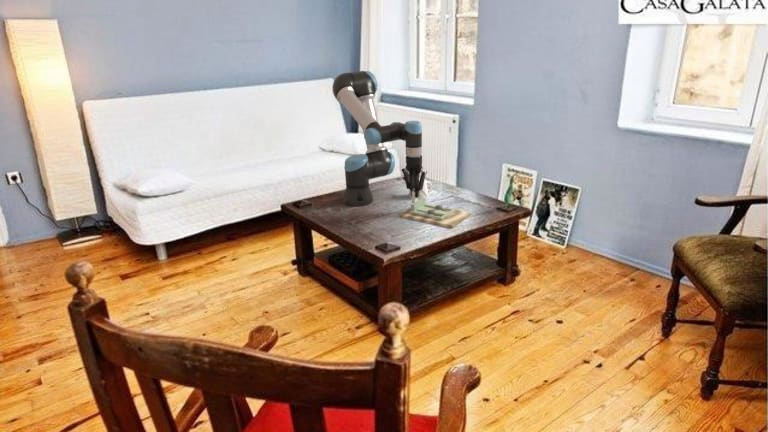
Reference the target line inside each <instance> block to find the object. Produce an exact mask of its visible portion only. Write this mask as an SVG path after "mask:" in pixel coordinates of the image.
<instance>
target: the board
mask: <svg viewBox="0 0 768 432" xmlns="http://www.w3.org/2000/svg"><path fill="white" fill-rule="evenodd" d="M434 206H435V208H436V209H439V210H441V209H442V207H443V205H441V204H437V205H434ZM453 209H454V212H453V213H451V214H450V215H448V216H447V217H445V218H444V219H442V220H440V219H436V218H431V217H426V216H422V215H417V214H412V213H410V210H411V207H409V208H407V209H406V210H404V211H402V212H401V213H399V217H400V218H404V219H409V220H414V221H419V222H423V223H427V224H432V225H436V226H441V227H446V228H451V229H454V228H455V227H457V226H458V225H460V224H461V223H462V222H464V221H465V220H466V219H467V218H469V217H471V216H472V212H470V211H469V212H468V211H464V210H459V209H455V208H453ZM441 211H445V212H450V211H447V210H441ZM428 213H429V214H433V213H435V210H428ZM434 216H438V217H442V216H441V215H434Z"/></svg>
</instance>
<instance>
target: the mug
mask: <svg viewBox="0 0 768 432" xmlns="http://www.w3.org/2000/svg"><path fill="white" fill-rule="evenodd" d="M419 181H420V176H419ZM428 184H429V189H428ZM414 190H415V189H414ZM432 190H433V184H432V182H431V181H428V180H427V178H425V180H424V185H423V189H422V190H420V191H419V197H418V200H419V199H421V198H424V199H426V198H428V197H429V194H431V192H432ZM408 191H409V192H408V195H409V199H411V200H412V197H411V192H410V190H408Z"/></svg>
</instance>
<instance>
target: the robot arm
mask: <svg viewBox="0 0 768 432" xmlns="http://www.w3.org/2000/svg"><path fill="white" fill-rule="evenodd" d="M378 84H379V83H378V80H377V78H376V76H375V74H374V73H372V71H369V70H360V71H353V72H352V71H351V72H343V73H341V74H338V75H337V77H335V79H334V80H333V82H332V87H331V88H332V93H333V96H334V98H335V100H336V101H337V102H338V103H339V104H342V105H343V106H344V107H345V109H346V110H347V111H348V112H349V114H350V116H352V118H353V119H354V120H355V121H356V123H357V124H358V125H359V127H360V128H361V129H362V131H363V138H364V142H365V145H366V152H364V153H365V154H364V153H359V154H353V155H350V156H348V157H347V158H346V159H345V160H344V176H345V191H344V194H343V195H344V196H343V203H344V204H345V205H346V206H350V207H351V206H352V207H363V206H367V205H370V204H372V203H373V202H374V195H373V193H372V191H371V188H370V180H373V179H377V178H381V177H385V176H389V175H391V174H392V173H394V170H395V168H396V167H395V166H396V162H395V161H396V160H395V157H394V156H395V155H393V153H392V152H391V151H388V148H387V147H386V146H385V145H384V143H385V144H386V143H391V142H395V141H404V142H405V155H406V156H405V167H403V168H402V169H401V173H402V174H403V177H404V182H405V186H406V189H407V190H409V191H410V192H411V197H412V199H411V204H412V203H414V202H416V201H417V200H419V199H418V197H419V191H420V190H422V189H423V185H424V180H425V179H426V176H427V174H428V171H427V170H424V168H423V156H422V155H423V129H422V127H423V126H422V122H421V121H418V120H408V121H406V122H405V123H402V122H396V121H394V122H392V123H390V124H388V125H381V124H380V123H379V119H378V114H377V110H376V105H375V101H374V100H375V97H376V92H377V91H378ZM419 177H420V181H419ZM414 189H415V190H414Z"/></svg>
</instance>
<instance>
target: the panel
mask: <svg viewBox="0 0 768 432" xmlns="http://www.w3.org/2000/svg"><path fill="white" fill-rule="evenodd" d="M435 206H436V205H433V204H429V203H426V198H421V199H418V200H417V201H416V202H414V203H412V202H411V204H410V208H411V210H410V213H412V214H417V215H422V216H426V217H431V218H436V219H440V220H442V219H444V218H445V217H447V216H448V215H450V214H451V213H453V212H454V209H455V208H449V207H444V206H442V209H441V210H447V211H450V212H445V211H441V210H439V209H436V208H435ZM428 210H435V213H433V214H429V213H428ZM434 215H441V216H442V217H438V216H434Z"/></svg>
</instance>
